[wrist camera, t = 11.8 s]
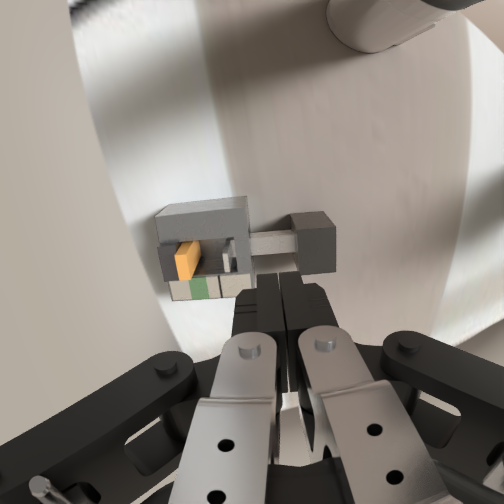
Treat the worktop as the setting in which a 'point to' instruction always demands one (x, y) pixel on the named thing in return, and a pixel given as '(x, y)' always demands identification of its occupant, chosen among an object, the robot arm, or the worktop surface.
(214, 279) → the gauge housing
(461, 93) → the worktop surface
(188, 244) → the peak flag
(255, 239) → the dark cube on shaft
